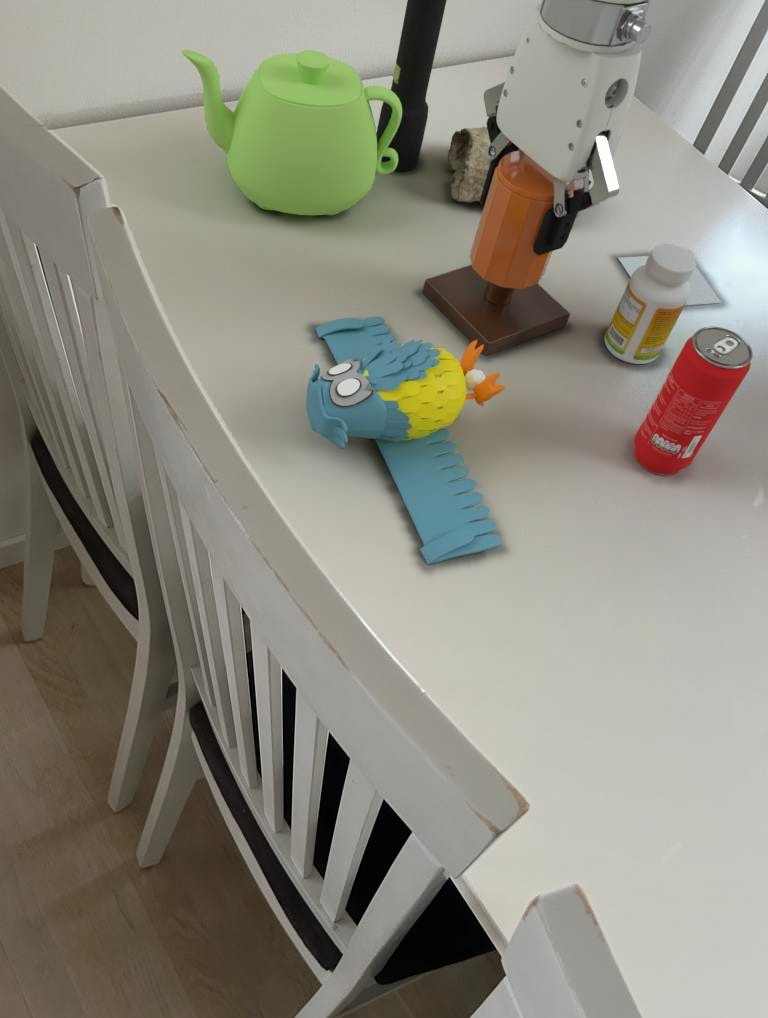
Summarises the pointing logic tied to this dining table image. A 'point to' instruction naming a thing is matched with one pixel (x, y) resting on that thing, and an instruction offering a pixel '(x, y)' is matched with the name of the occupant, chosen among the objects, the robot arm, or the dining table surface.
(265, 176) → the teapot
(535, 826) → the dining table surface
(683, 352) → the beverage can
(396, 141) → the flashlight
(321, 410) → the owl figurine
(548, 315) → the cup stand
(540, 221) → the cup
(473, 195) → the mineral specimen
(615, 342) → the supplement bottle
